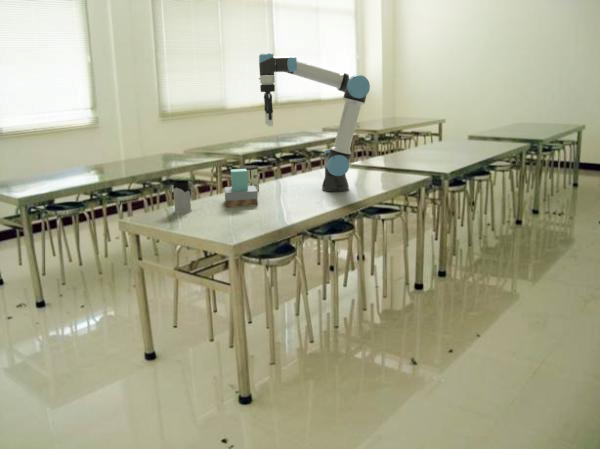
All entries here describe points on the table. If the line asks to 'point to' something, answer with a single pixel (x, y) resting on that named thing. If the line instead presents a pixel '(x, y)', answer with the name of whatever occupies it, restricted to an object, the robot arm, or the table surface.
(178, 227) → the table surface
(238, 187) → the teal block
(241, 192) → the grey slab
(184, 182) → the grey black mug
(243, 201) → the walnut slab
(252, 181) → the coffee can
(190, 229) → the table surface
